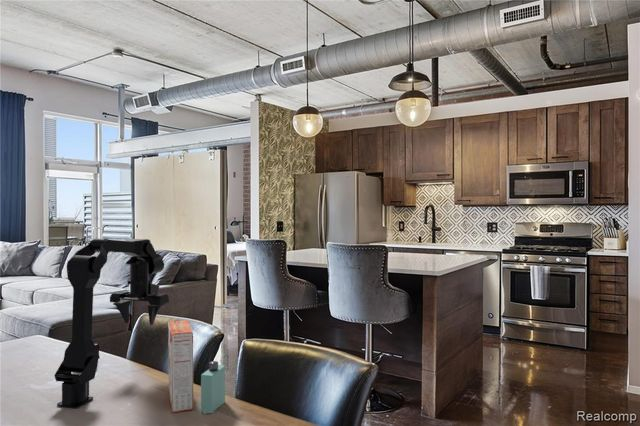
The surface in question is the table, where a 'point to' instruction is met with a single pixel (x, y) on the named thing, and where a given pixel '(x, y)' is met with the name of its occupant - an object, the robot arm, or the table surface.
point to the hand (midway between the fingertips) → (139, 323)
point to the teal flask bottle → (212, 387)
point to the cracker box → (180, 365)
